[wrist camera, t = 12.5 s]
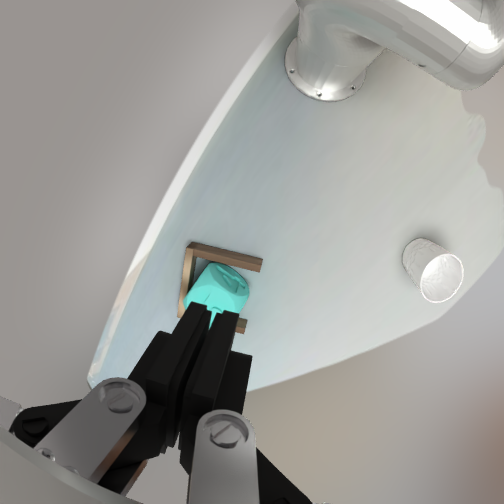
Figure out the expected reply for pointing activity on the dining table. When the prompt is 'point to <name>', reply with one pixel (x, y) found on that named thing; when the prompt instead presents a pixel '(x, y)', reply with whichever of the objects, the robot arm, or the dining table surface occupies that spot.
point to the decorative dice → (218, 290)
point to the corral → (217, 256)
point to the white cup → (433, 270)
